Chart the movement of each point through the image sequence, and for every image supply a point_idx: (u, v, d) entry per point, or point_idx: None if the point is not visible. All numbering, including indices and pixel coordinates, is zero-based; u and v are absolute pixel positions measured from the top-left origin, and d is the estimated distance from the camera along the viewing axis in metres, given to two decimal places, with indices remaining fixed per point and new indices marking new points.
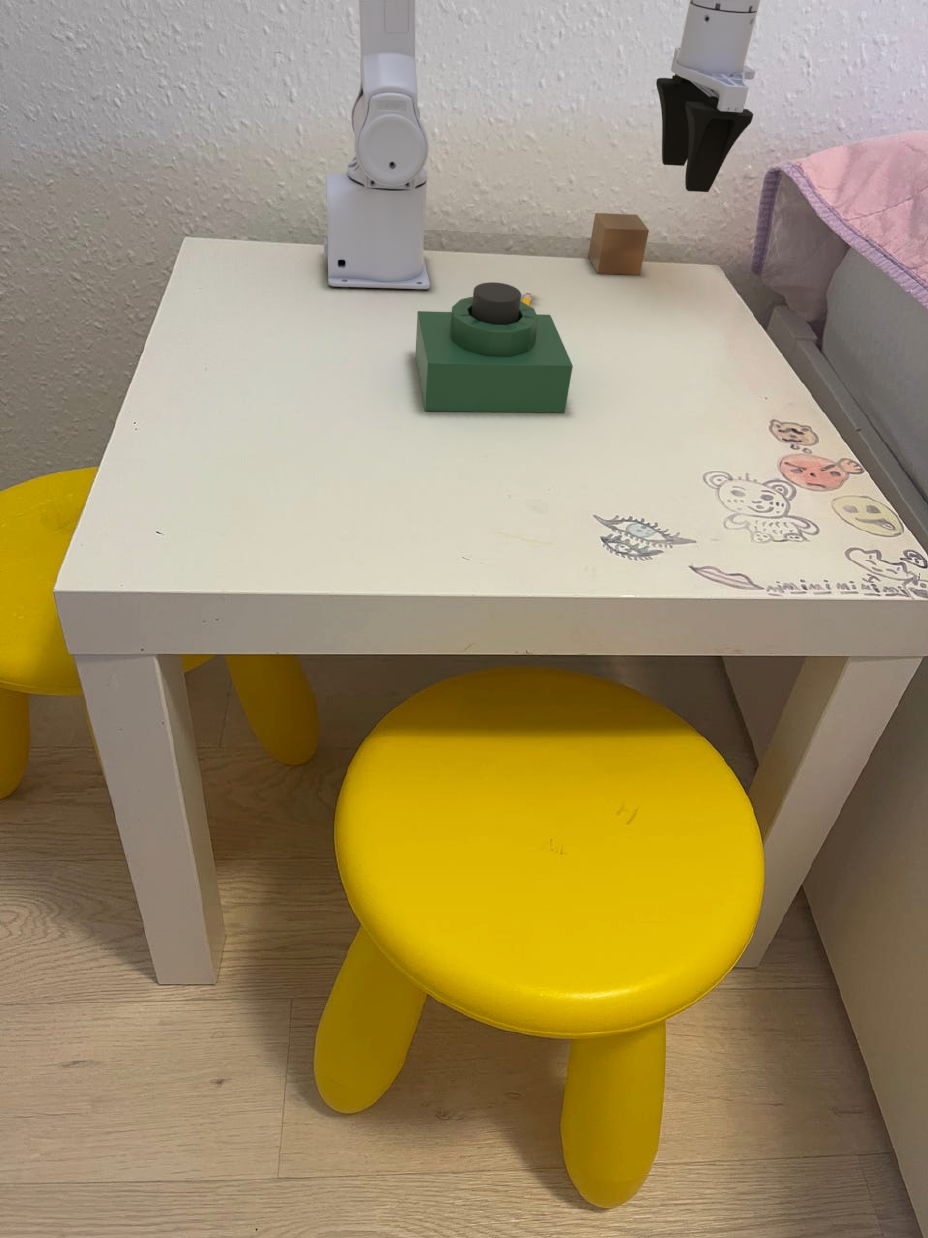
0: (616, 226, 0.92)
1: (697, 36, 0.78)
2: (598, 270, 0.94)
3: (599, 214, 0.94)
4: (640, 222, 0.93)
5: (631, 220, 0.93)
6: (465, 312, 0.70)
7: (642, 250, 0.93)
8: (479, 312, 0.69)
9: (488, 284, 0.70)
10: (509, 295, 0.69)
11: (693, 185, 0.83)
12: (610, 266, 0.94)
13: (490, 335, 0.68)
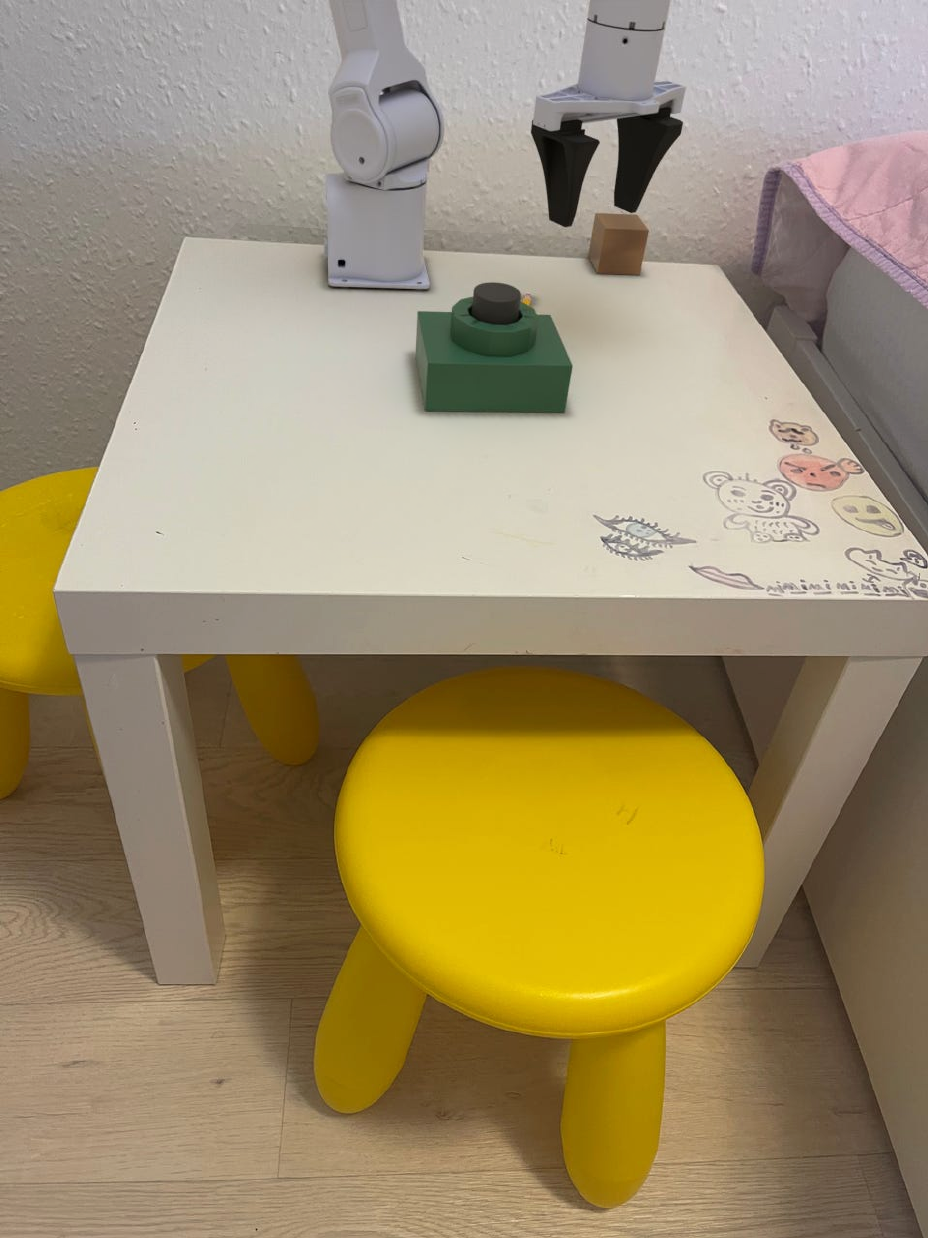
0: (616, 226, 0.92)
1: None
2: (598, 270, 0.94)
3: (599, 214, 0.94)
4: (640, 222, 0.93)
5: (631, 220, 0.93)
6: (465, 312, 0.70)
7: (642, 250, 0.93)
8: (479, 312, 0.69)
9: (488, 284, 0.70)
10: (509, 295, 0.69)
11: (552, 214, 0.74)
12: (610, 266, 0.94)
13: (490, 335, 0.68)
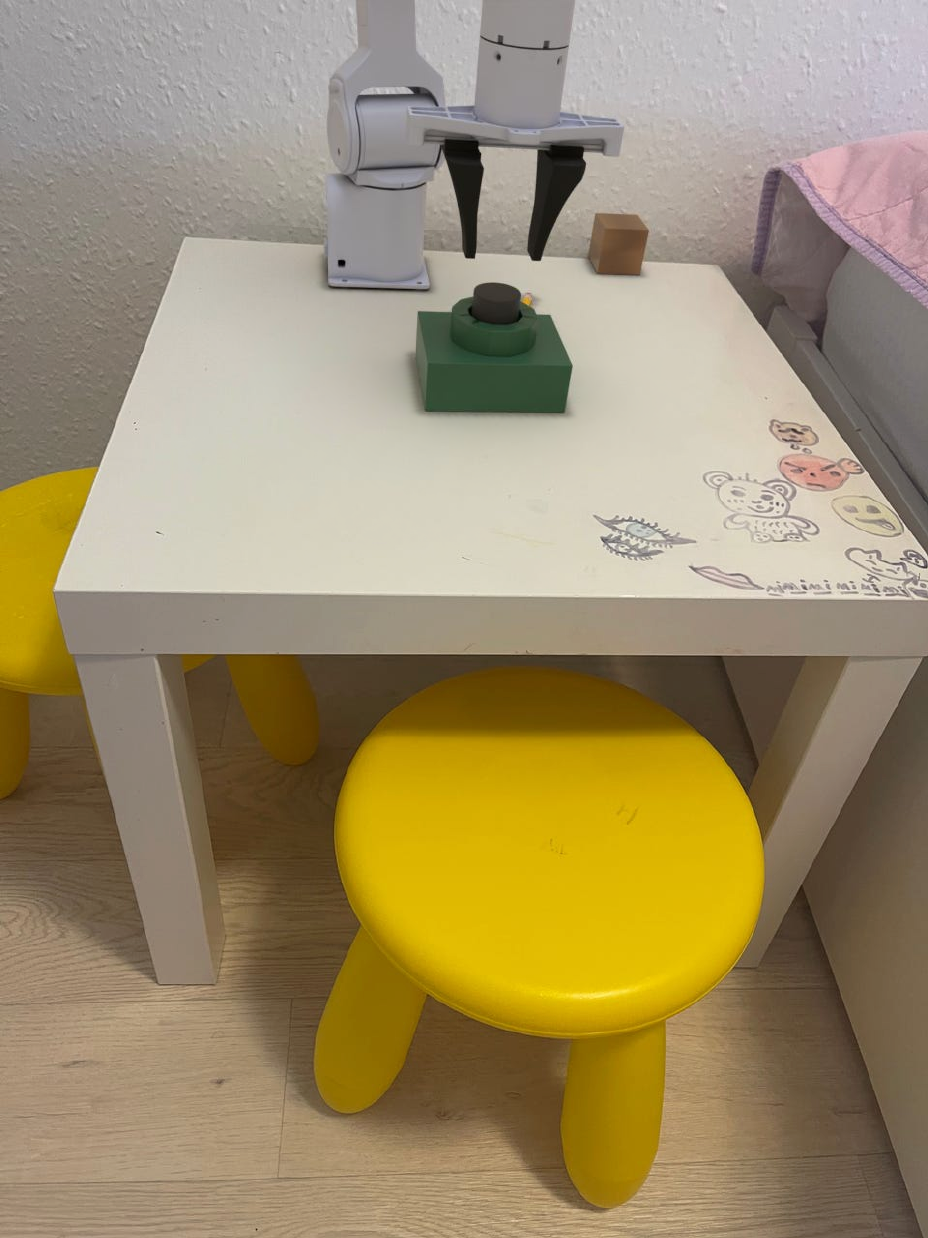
0: (616, 226, 0.92)
1: None
2: (598, 270, 0.94)
3: (599, 214, 0.94)
4: (640, 222, 0.93)
5: (631, 220, 0.93)
6: (465, 312, 0.70)
7: (642, 250, 0.93)
8: (479, 312, 0.69)
9: (488, 284, 0.70)
10: (509, 295, 0.69)
11: (462, 243, 0.67)
12: (610, 266, 0.94)
13: (490, 335, 0.68)
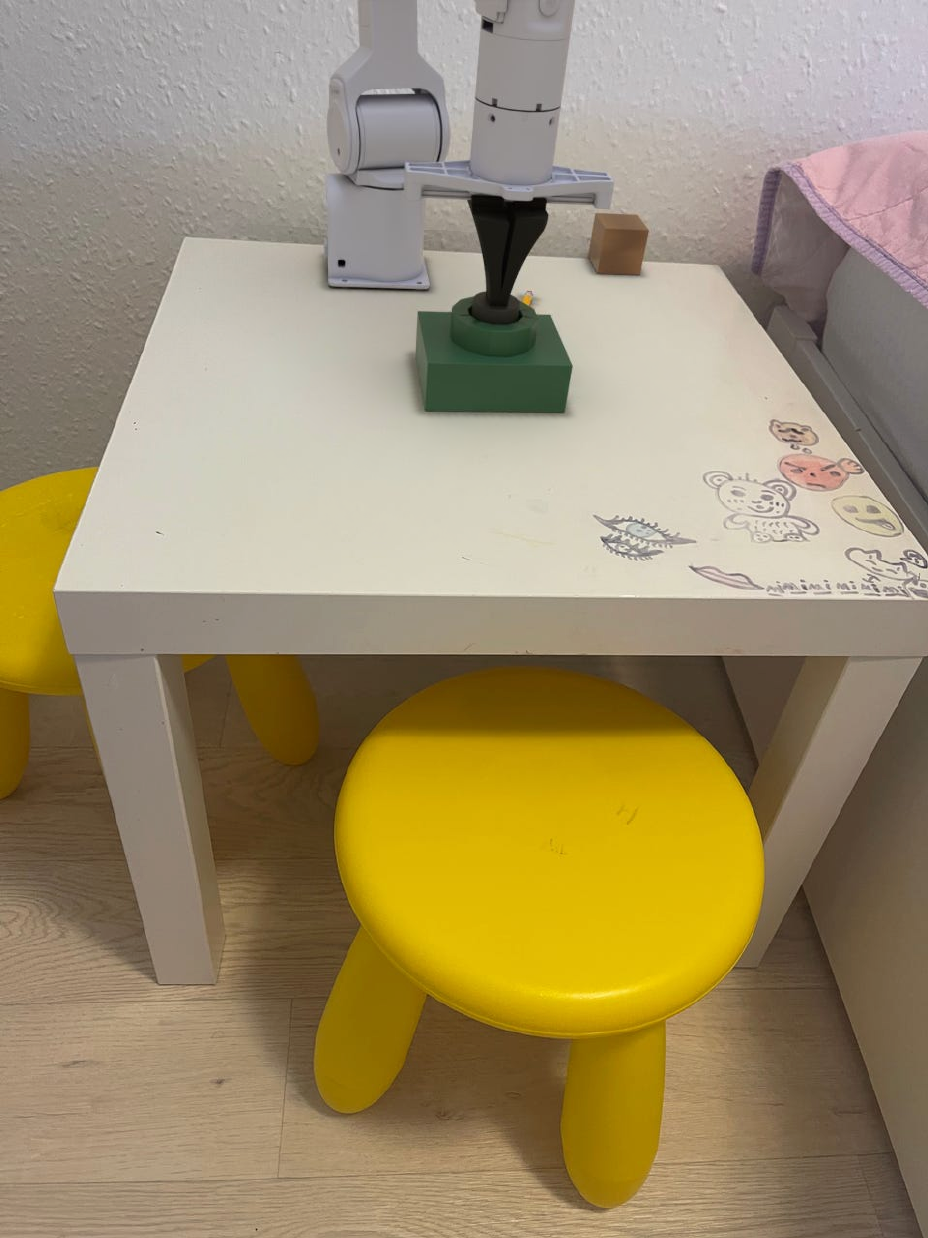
0: (616, 226, 0.92)
1: None
2: (598, 270, 0.94)
3: (599, 214, 0.94)
4: (640, 222, 0.93)
5: (631, 220, 0.93)
6: (465, 312, 0.70)
7: (642, 250, 0.93)
8: None
9: None
10: (508, 304, 0.69)
11: (486, 290, 0.70)
12: (610, 266, 0.94)
13: (490, 335, 0.68)
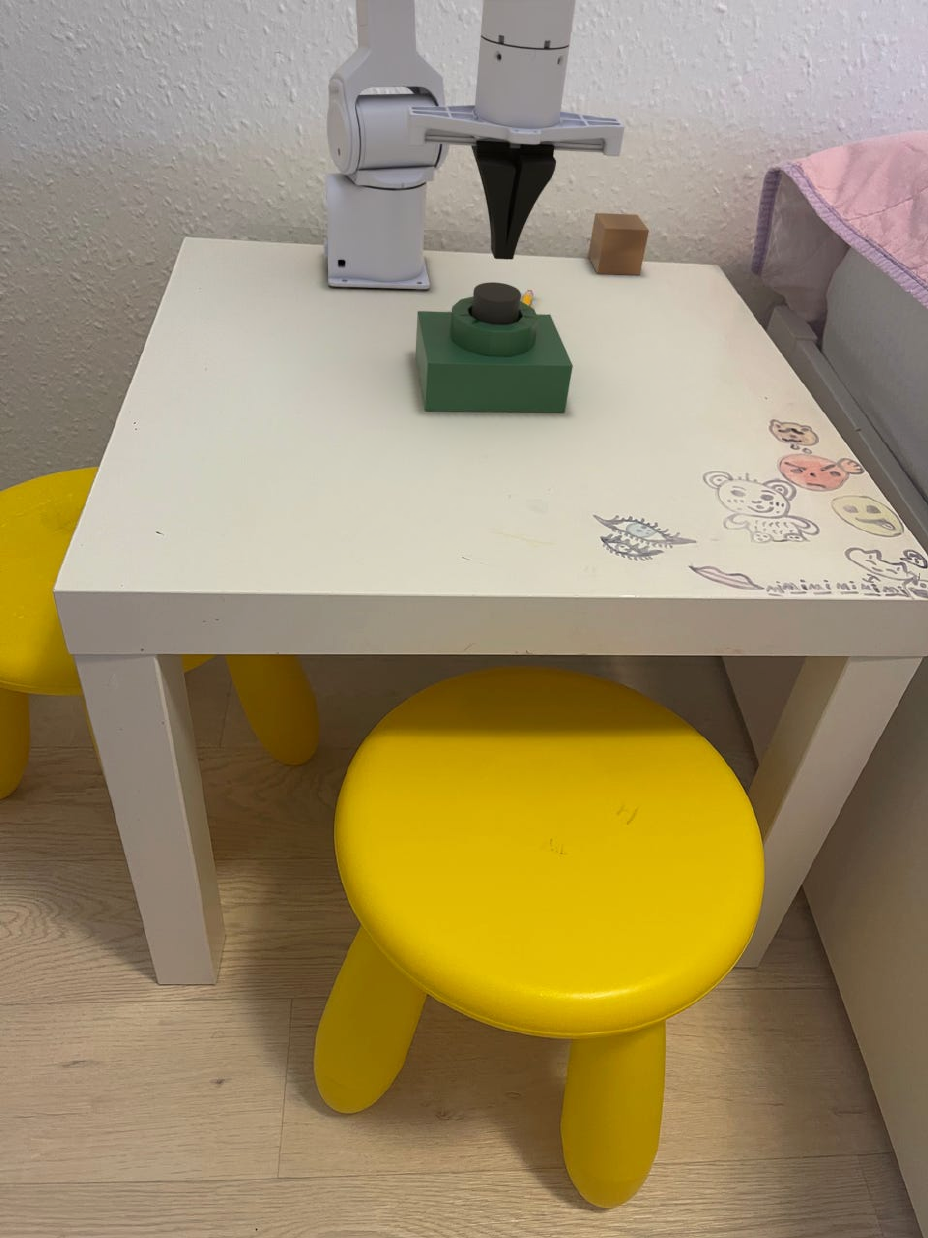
0: (616, 226, 0.92)
1: None
2: (598, 270, 0.94)
3: (599, 214, 0.94)
4: (640, 222, 0.93)
5: (631, 220, 0.93)
6: (465, 312, 0.70)
7: (642, 250, 0.93)
8: (479, 312, 0.69)
9: (488, 284, 0.70)
10: (509, 295, 0.69)
11: (491, 243, 0.68)
12: (610, 266, 0.94)
13: (490, 335, 0.68)
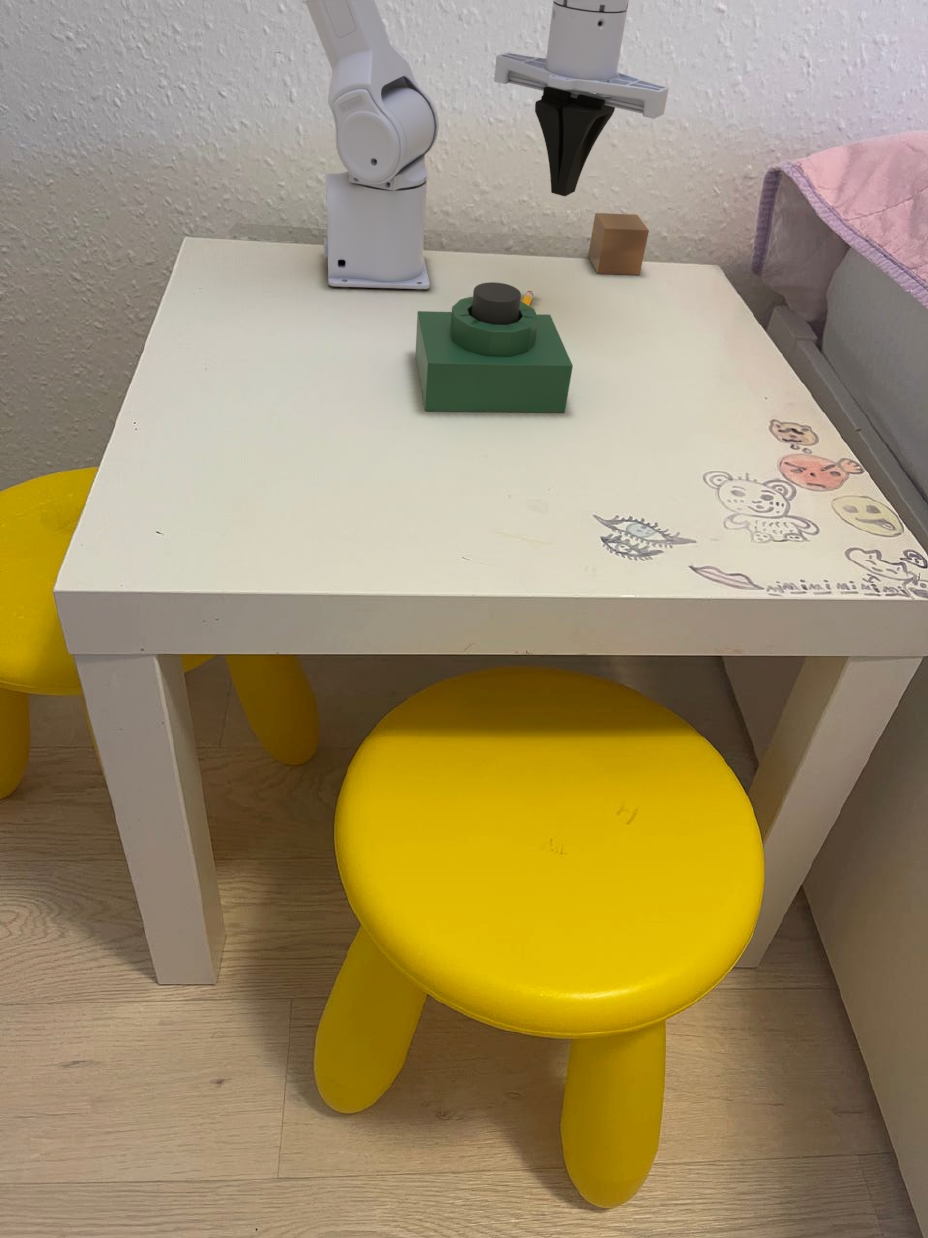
0: (616, 226, 0.92)
1: None
2: (598, 270, 0.94)
3: (599, 214, 0.94)
4: (640, 222, 0.93)
5: (631, 220, 0.93)
6: (465, 312, 0.70)
7: (642, 250, 0.93)
8: (479, 312, 0.69)
9: (488, 284, 0.70)
10: (509, 295, 0.69)
11: None
12: (610, 266, 0.94)
13: (490, 335, 0.68)
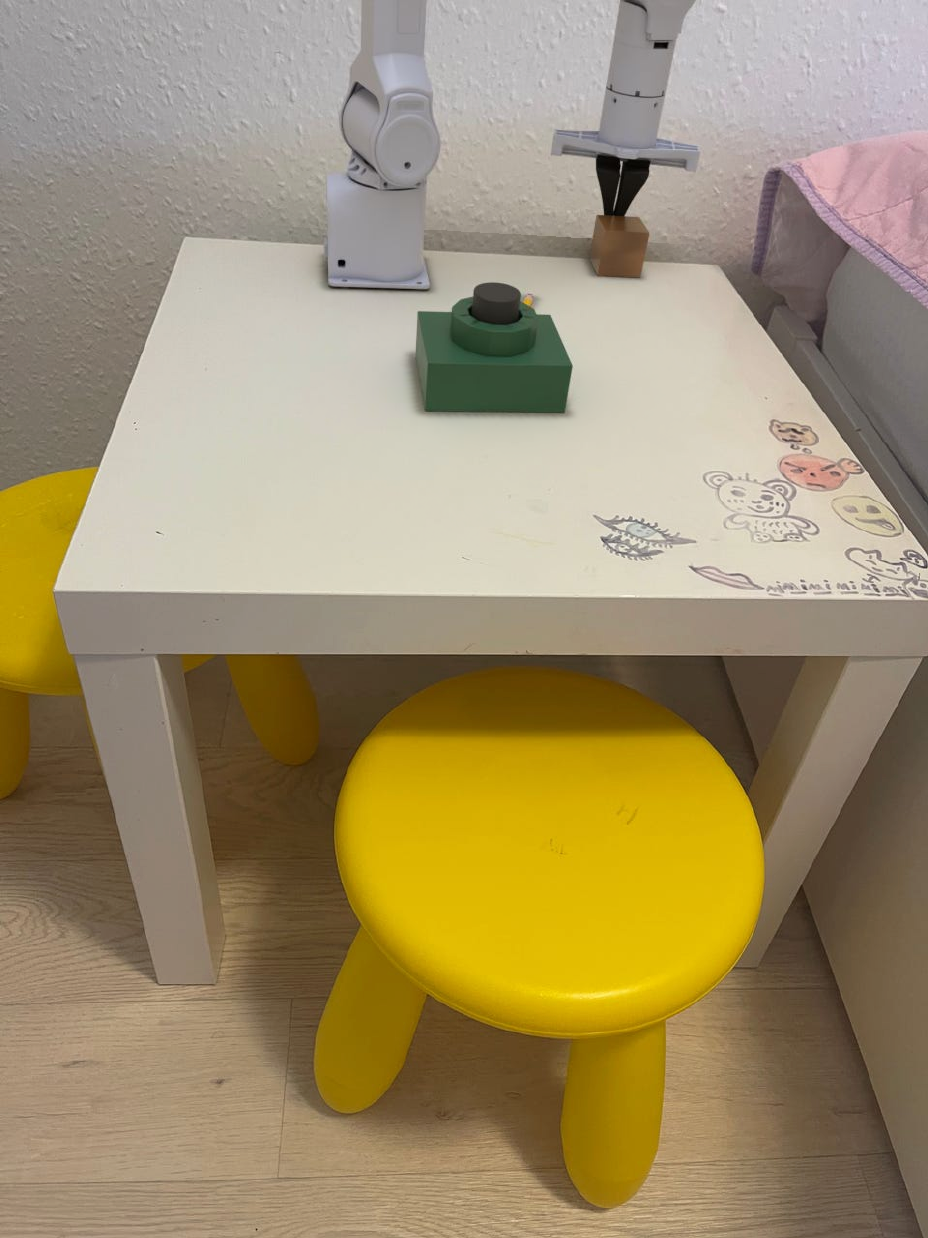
0: (616, 228, 0.91)
1: None
2: (598, 272, 0.93)
3: (600, 216, 0.94)
4: (641, 224, 0.93)
5: (632, 222, 0.93)
6: (465, 312, 0.70)
7: (642, 253, 0.92)
8: (479, 312, 0.69)
9: (488, 284, 0.70)
10: (509, 295, 0.69)
11: None
12: (610, 268, 0.93)
13: (490, 335, 0.68)
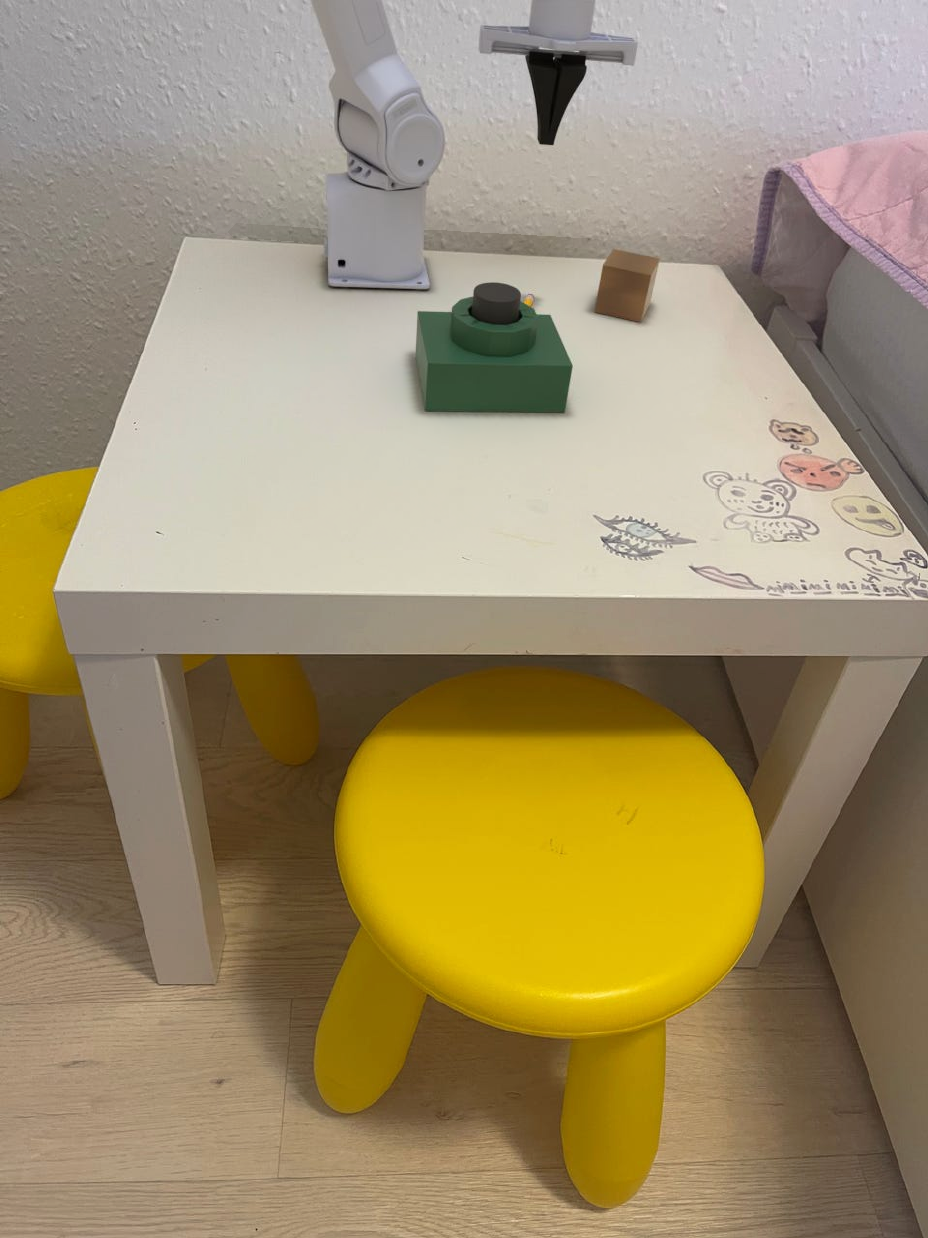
0: (617, 264, 0.84)
1: None
2: (595, 309, 0.87)
3: (615, 251, 0.87)
4: (652, 266, 0.84)
5: (644, 262, 0.85)
6: (465, 312, 0.70)
7: (643, 295, 0.84)
8: (479, 312, 0.69)
9: (488, 284, 0.70)
10: (509, 295, 0.69)
11: (538, 133, 0.91)
12: (608, 307, 0.86)
13: (490, 335, 0.68)
